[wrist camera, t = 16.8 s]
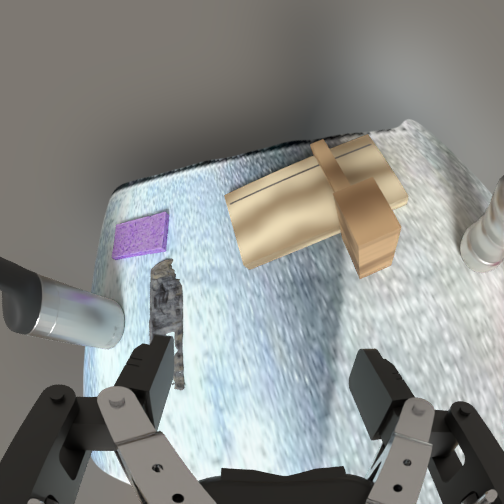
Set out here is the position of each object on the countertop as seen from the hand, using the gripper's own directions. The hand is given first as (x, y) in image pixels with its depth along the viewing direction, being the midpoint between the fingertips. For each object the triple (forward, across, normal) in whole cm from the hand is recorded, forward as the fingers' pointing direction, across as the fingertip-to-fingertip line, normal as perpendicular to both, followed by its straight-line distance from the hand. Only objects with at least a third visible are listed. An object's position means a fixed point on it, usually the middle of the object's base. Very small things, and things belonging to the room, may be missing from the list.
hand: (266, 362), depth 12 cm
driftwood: (+30, +12, +16) cm, 36 cm away
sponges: (+41, +19, +6) cm, 46 cm away
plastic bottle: (+19, -30, -2) cm, 35 cm away
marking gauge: (+29, -13, -3) cm, 32 cm away
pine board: (+32, -8, -4) cm, 33 cm away
